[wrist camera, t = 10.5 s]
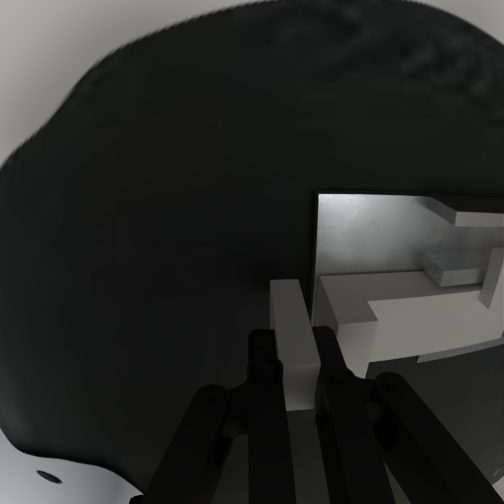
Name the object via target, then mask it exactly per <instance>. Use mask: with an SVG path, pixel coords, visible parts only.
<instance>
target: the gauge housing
mask: <svg viewBox="0 0 504 504" xmlns="http://www.w3.org/2000/svg"><path fill="white" fill-rule="evenodd" d="M498 247H504V199H503V198H492V197H481V196H468V195H453V194H437V193H418V192H394V191H358V190H315V214H314V238H313V258H312V275H311V290H310V304H309V320H310V324H311V327H312V326H315V322H316V311H317V300H318V288H319V276H334V275H357V274H377V273H397V272H414V271H426V273H427V274H428V275H429V276H430V277H431V278H432V279H433V280H434V281H435V282H436V283H437V284H438V285H439V286H440V287H442V286H453V285H463V284H473V283H483V282H484V280H485V277H486V273H487V270H488V266H489V262H490V258H491V254H492V250H493V248H498ZM501 344H504V331H503V333H502V335H501V338H498V339H494V340H490V341H486V342H482V343H478V344H473V345H469V346H464V347H459V348H454V349H449V350H444V351H439V352H433V353H428V354H422V355H416V356H413V357H414V359H415V361H416V362H417V363H419V362H425V361H430V360H435V359H441V358H445V357H450V356H455V355H460V354H464V353H469V352H473V351H477V350H481V349H485V348H489V347H493V346H497V345H501Z"/></svg>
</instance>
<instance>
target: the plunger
mask: <svg viewBox="0 0 504 504" xmlns="http://www.w3.org/2000/svg"><path fill="white" fill-rule="evenodd" d="M315 326H329V327H330V328H331V329H332V330H333V331H334V332H335V335H336V337H337V341H338V343H339V346H340V349H341V352H342V355H343V357H344V360H345V363H346V366H347V368H348V369H350V370H351V371H352V372H353V373H354V375H355V376H357V377H359V378H364V379H365V375H366V371H367V368H368V364H369V362H375V361H382V360H390V359H397V358H403V357H410V356H416V355H422V354H428V353H433V352H439V351H444V350H449V349H454V348H459V347H464V346H469V345H473V344H478V343H482V342H486V341H490V340H494V339H498V338H501V335H502V333H503V331H504V247H498V248H493V250H492V254H491V258H490V262H489V266H488V270H487V273H486V277H485V280H484V282H483V283H473V284H463V285H453V286H442V287H440V286H439V285H438V284H437V283H436V282H435V281H434V280H433V279H432V278H431V277H430V276H429V275H428V274H427V273H426V271H414V272H397V273H377V274H357V275H334V276H319V288H318V300H317V311H316V322H315Z"/></svg>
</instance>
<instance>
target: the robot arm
mask: <svg viewBox="0 0 504 504" xmlns="http://www.w3.org/2000/svg"><path fill="white" fill-rule="evenodd" d="M270 328H271V329H259V330H252V332H251V333H250V335H249V336H248V367H247V373H248V378H247V380H246V381H245V382H244V383H243V384H242V385H240V386H238V387H235V388H232V389H228V390H227V389H226V388H224V387H223V386H220V385H214V384H210V385H206V386H203V387H202V388H200V389H198V391H197V392H196V393H195V395H194V397H193V399H192V401H191V403H190V405H189V407H188V409H187V411H186V413H185V415H184V417H183V419H182V421H181V423H180V425H179V427H178V429H177V431H176V433H175V435H174V437H173V439H172V441H171V443H170V445H169V447H168V449H167V450H166V452H165V454H164V456H163V458H162V460H161V462H160V464H159V466H158V468H157V470H156V472H155V474H154V476H153V478H152V480H151V482H150V484H149V486H148V488H147V490H146V491H145V493H144V495H138V496H134V497H132V498H131V499H130V502H129V504H211V501H212V498H213V496H214V493H215V490H216V487H217V485H218V482H219V479H220V477H221V474H222V471H223V468H224V465H225V463H226V460H227V457H228V454H229V451H230V449H231V446H232V443H233V440H234V437H237V436H240V435H244V434H247V433H248V465H249V504H297V503H296V494H295V484H294V475H293V466H292V457H291V448H290V439H289V430H288V421H287V413H286V411H290V410H304V409H314V404H316V409H317V410H316V416H315V421H314V428H313V429H316V426H317V430H318V435H319V441H320V447H321V452H322V458H323V464H324V469H325V475H326V481H327V487H328V493H329V499H330V504H396V503H395V500H394V496H393V493H392V489H391V486H390V482H389V479H388V476H387V472H386V469H385V465H384V462H385V463H386V465H387V466H388V468H389V470H390V471H391V473H392V474H393V476H394V477H395V479H396V480H397V482H398V484H399V485H400V487H401V488H402V490H403V491H404V493H405V495H406V496H407V498H408V499H409V501H410V502H411V504H504V501H503V500H502V498H501V497H500V496H499V495H498V493H497V492H496V491H495V489H494V488H493V487H492V485H491V484H490V483H489V482H488V480H487V479H486V478H485V477H484V475H483V474H482V473H481V471H480V470H479V469H478V468H477V466H476V465H475V464H474V463H473V461H472V460H471V459H470V458H469V456H468V455H467V454H466V453H465V451H464V450H463V449H462V448H461V446H460V445H459V444H458V443H457V442H456V440H455V439H454V438H453V437H452V435H451V434H450V433H449V432H448V431H447V429H446V428H445V427H444V426H443V424H442V423H441V422H440V421H439V420H438V418H437V417H436V416H435V415H434V414H433V412H432V411H431V410H430V409H429V408H428V406H427V405H426V404H425V403H424V402H423V400H422V399H421V398H420V397H419V396H418V395H417V393H416V392H415V391H414V390H413V389H412V387H411V386H410V385H409V384H408V383H407V382H406V380H405V379H404V378H403V377H402V376H400V375H399V374H396V373H394V372H384V373H381V374H379V375H378V376H377V377H376V379H375V380H372V379H364V378H359V377H357V376H355V375H354V373H353V372H352V371H351V370H350V369H348V368H347V366H346V363H345V360H344V357H343V355H342V352H341V349H340V346H339V343H338V341H337V337H336V335H335V332H334V331H333V330H332V329H331V328H330V327H329V326H312V327H311V324H310V320H309V317H308V313H307V309H306V306H305V302H304V298H303V295H302V291H301V288H300V284H299V281H298V279H290V280H270ZM383 460H384V462H383Z"/></svg>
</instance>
